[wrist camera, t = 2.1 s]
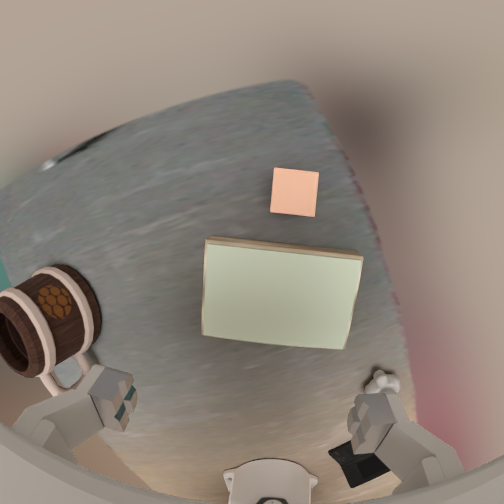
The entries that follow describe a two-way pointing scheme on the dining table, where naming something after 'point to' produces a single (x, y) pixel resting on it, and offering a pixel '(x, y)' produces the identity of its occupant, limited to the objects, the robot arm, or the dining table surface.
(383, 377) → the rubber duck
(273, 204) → the terracotta block
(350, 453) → the handheld gaming console
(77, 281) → the mug
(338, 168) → the dining table surface
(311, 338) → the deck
